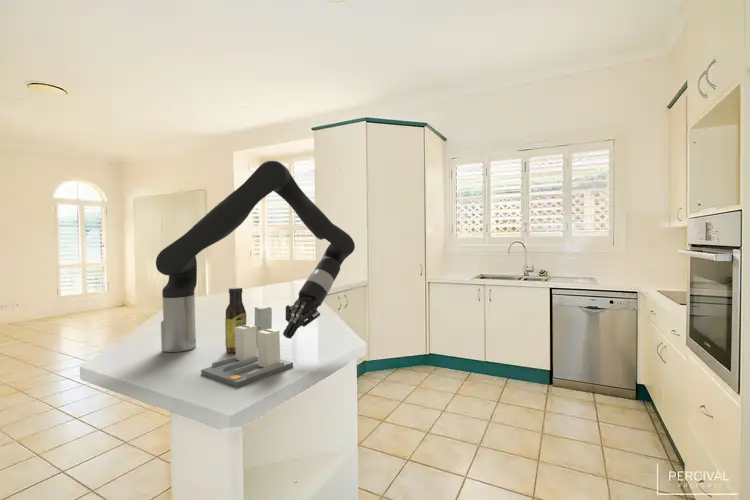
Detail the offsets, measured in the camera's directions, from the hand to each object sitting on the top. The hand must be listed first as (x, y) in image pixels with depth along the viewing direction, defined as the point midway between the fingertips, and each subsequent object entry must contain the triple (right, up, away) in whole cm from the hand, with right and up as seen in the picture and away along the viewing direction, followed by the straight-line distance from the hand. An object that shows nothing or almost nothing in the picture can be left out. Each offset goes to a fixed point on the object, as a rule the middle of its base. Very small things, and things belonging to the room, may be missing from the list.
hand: (286, 336), depth 102 cm
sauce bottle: (-19, -8, +14) cm, 25 cm away
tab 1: (-12, -6, +1) cm, 13 cm away
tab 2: (-3, -6, -5) cm, 9 cm away
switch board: (-9, -8, -4) cm, 13 cm away
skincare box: (-14, -8, +24) cm, 29 cm away
